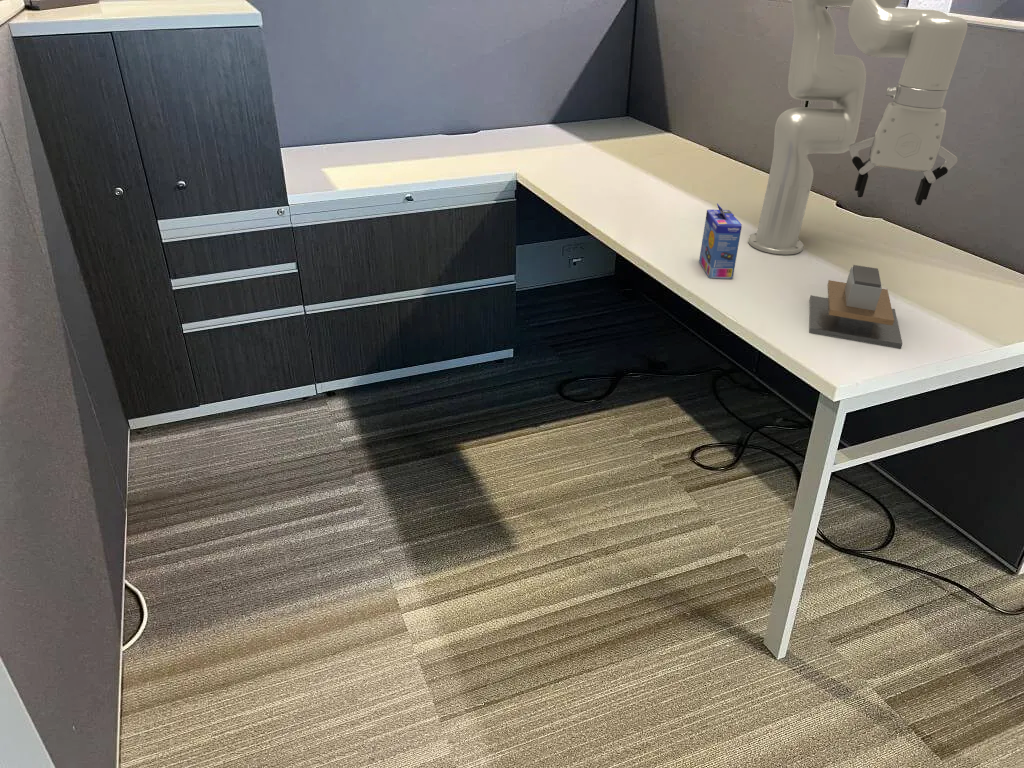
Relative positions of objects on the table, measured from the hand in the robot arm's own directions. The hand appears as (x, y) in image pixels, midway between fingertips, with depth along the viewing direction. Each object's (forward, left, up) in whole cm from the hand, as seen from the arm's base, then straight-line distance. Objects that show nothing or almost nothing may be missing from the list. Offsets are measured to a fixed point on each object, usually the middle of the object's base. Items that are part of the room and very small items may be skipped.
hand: (888, 199), depth 135 cm
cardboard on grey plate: (0, 0, -24) cm, 24 cm away
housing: (0, 0, -19) cm, 19 cm away
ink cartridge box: (-16, -28, -25) cm, 40 cm away
